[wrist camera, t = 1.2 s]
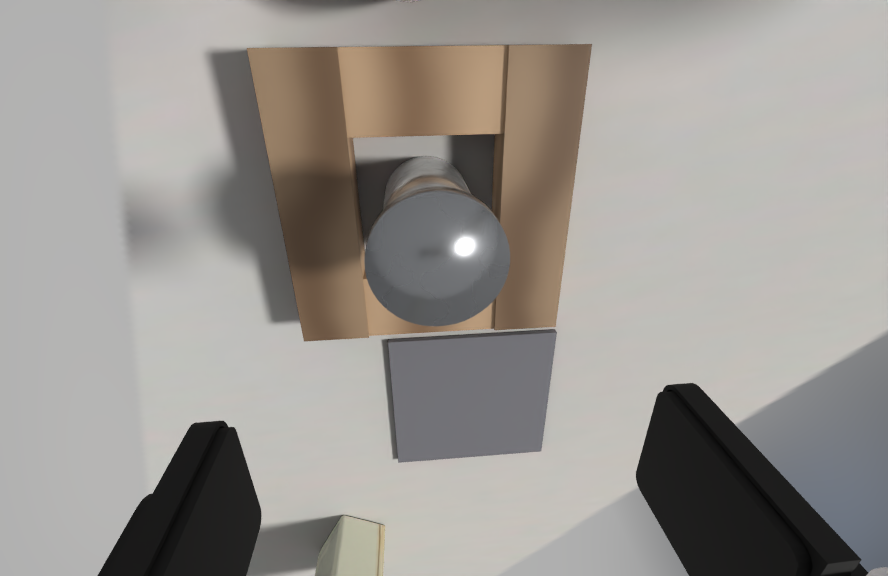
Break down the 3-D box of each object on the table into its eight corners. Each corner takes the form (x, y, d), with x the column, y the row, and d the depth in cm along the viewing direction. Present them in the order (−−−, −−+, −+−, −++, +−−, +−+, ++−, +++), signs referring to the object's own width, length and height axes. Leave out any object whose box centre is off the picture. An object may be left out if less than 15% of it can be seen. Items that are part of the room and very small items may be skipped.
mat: (554, 329, 32) (556, 332, 31) (539, 447, 37) (541, 451, 37) (388, 339, 31) (387, 342, 30) (398, 458, 36) (398, 462, 36)
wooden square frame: (573, 45, 23) (591, 44, 21) (544, 306, 31) (555, 326, 28) (262, 48, 22) (246, 48, 20) (311, 319, 30) (304, 341, 27)
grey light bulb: (477, 145, 25) (514, 190, 17) (474, 242, 28) (506, 322, 20) (371, 148, 25) (357, 196, 16) (380, 247, 28) (371, 330, 19)
